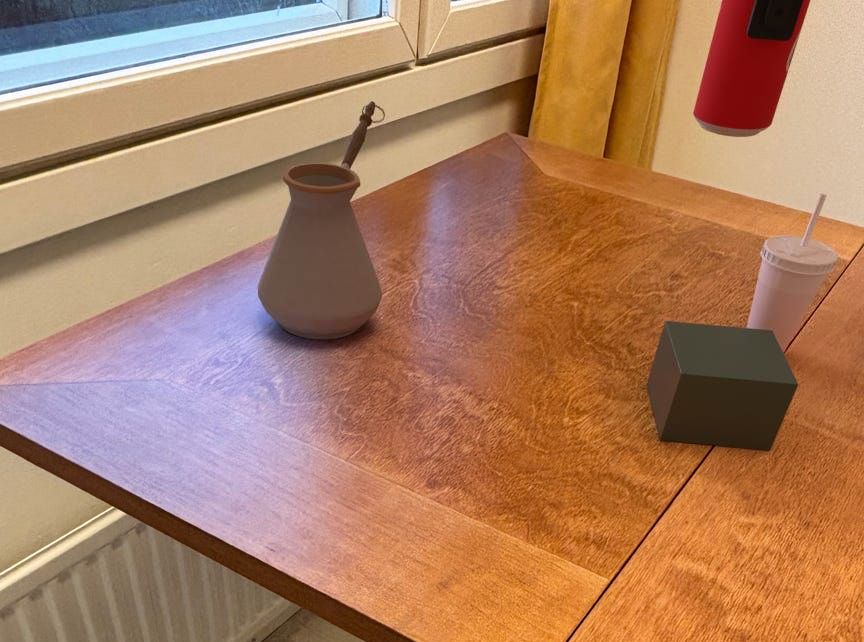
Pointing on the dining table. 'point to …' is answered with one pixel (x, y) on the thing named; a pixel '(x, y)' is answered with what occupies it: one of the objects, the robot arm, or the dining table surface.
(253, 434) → the dining table surface
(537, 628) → the dining table surface
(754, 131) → the beverage can
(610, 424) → the dining table surface
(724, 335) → the riser block
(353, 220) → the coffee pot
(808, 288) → the smoothie
